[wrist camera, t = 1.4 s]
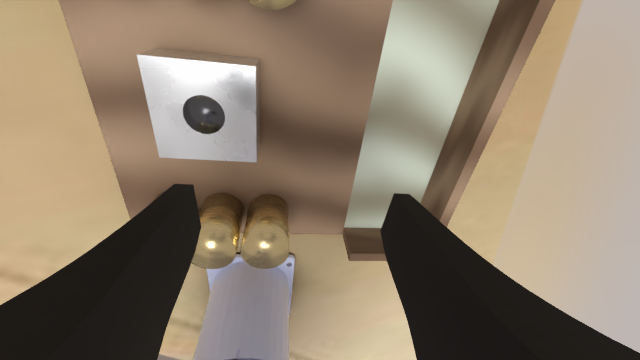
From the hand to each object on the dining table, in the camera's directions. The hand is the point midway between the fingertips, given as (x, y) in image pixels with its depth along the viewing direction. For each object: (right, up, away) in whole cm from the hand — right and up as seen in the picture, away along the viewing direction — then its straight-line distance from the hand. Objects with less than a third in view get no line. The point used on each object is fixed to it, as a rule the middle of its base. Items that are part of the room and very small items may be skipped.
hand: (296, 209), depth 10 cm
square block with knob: (-6, +6, +7) cm, 11 cm away
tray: (-1, +5, +9) cm, 10 cm away
